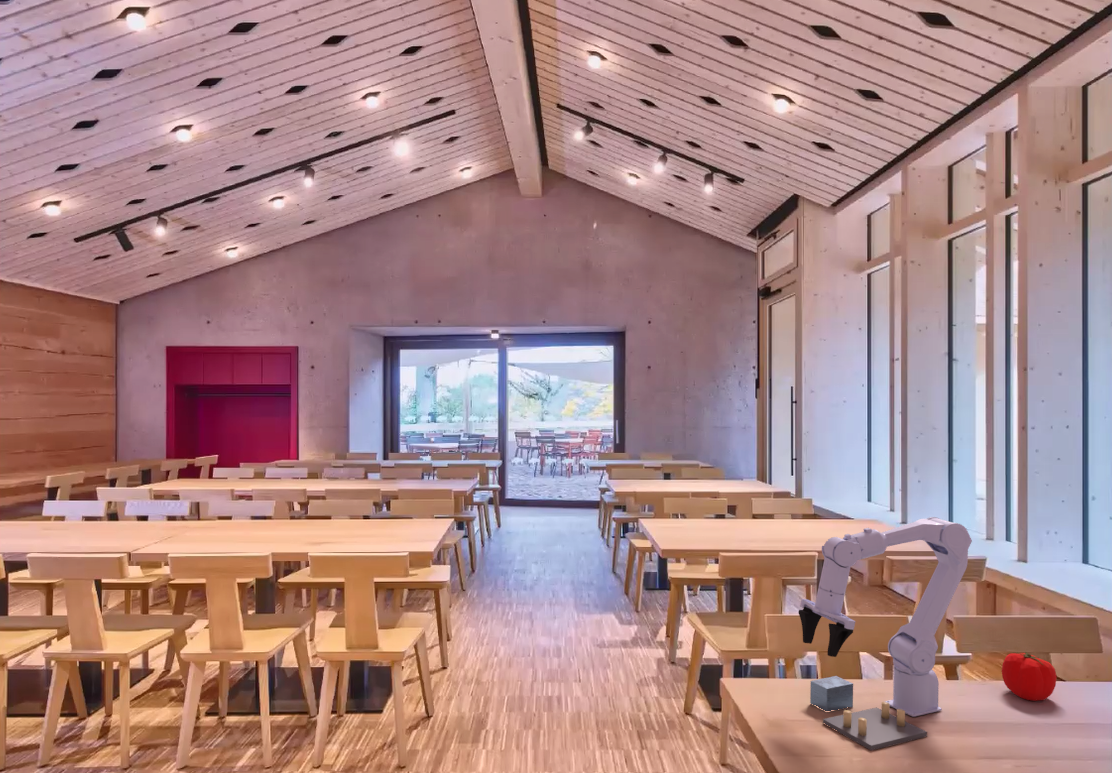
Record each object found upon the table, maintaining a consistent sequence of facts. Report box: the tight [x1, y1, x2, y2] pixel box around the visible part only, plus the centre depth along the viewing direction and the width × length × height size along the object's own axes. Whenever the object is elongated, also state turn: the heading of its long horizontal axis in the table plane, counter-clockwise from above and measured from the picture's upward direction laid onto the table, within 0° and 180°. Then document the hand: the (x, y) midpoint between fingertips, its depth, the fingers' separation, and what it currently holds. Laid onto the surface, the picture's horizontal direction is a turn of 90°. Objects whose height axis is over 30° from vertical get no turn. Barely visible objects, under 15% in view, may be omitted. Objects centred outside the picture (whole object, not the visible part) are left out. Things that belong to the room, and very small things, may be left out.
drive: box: [809, 675, 854, 711], centre depth 168 cm, size 8×5×6 cm, turn 115°
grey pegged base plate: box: [822, 701, 928, 751], centre depth 156 cm, size 16×13×4 cm
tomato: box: [1001, 651, 1058, 702], centre depth 175 cm, size 11×13×10 cm
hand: (819, 649), depth 166 cm, fingers open, 7 cm apart
